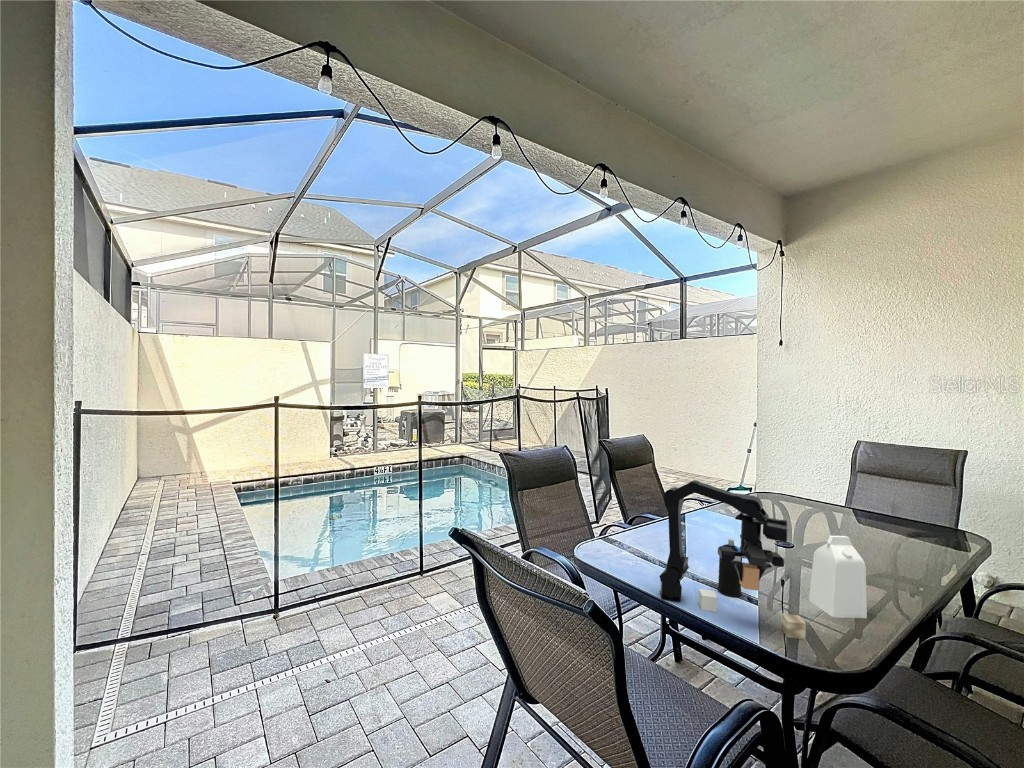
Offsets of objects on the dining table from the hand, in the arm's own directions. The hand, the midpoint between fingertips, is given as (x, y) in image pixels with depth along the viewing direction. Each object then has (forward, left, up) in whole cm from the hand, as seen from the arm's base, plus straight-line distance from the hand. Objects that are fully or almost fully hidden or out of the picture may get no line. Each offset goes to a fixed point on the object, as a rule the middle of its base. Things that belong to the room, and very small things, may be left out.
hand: (748, 581), depth 142 cm
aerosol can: (0, +21, -13) cm, 25 cm away
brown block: (0, 0, -2) cm, 2 cm away
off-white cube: (-11, +6, -13) cm, 18 cm away
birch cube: (+12, -4, -13) cm, 18 cm away
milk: (+35, +19, -13) cm, 42 cm away
